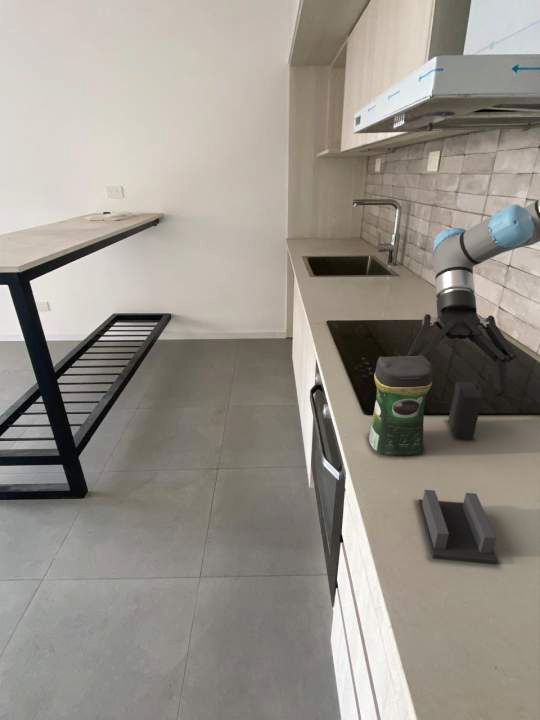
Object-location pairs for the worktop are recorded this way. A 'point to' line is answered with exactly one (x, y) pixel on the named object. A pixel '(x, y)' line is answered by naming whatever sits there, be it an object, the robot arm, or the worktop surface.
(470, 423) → the dark gray block
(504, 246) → the robot arm
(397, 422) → the coffee jar
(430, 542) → the base pad
